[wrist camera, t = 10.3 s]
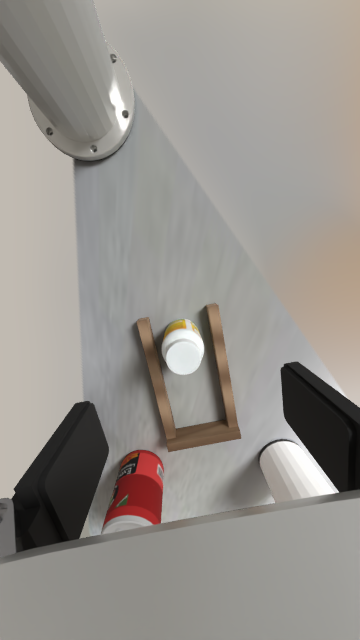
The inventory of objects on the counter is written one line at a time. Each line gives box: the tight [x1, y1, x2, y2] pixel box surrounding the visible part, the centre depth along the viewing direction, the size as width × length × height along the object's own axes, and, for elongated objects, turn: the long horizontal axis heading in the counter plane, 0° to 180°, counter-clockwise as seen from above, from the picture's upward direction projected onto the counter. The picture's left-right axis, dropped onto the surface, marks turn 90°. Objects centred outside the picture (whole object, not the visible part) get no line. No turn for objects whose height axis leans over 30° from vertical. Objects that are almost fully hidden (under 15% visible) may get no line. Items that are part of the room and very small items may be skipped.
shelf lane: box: [137, 303, 241, 452], centre depth 32 cm, size 22×12×3 cm, turn 12°
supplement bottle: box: [162, 319, 204, 375], centre depth 27 cm, size 5×5×10 cm
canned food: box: [101, 450, 164, 535], centre depth 32 cm, size 8×8×11 cm
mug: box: [259, 439, 335, 503], centre depth 32 cm, size 11×9×10 cm
